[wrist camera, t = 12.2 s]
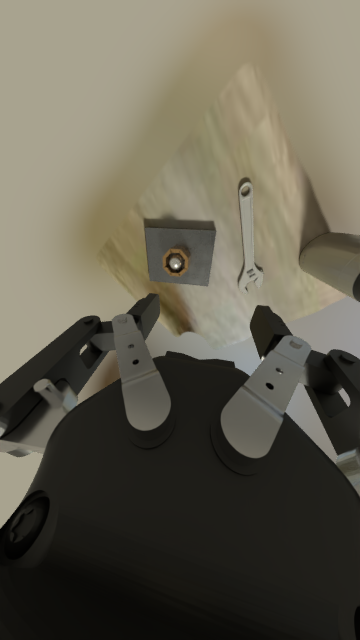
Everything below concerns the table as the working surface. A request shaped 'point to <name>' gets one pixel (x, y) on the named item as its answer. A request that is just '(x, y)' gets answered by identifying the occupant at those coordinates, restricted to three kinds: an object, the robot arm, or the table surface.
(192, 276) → the block
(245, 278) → the adjustable wrench
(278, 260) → the table surface
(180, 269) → the wooden octagonal ring
